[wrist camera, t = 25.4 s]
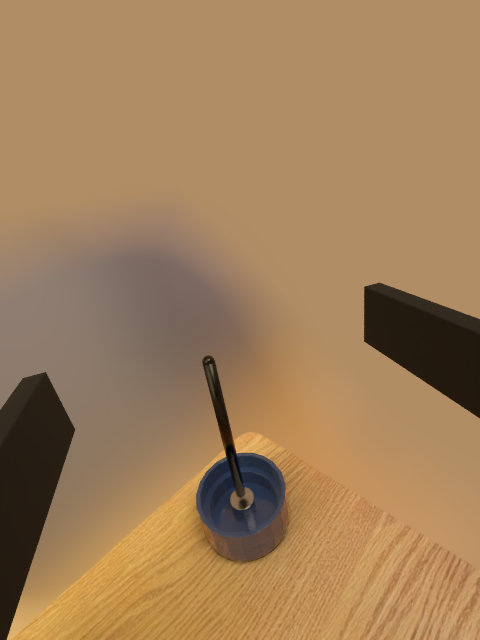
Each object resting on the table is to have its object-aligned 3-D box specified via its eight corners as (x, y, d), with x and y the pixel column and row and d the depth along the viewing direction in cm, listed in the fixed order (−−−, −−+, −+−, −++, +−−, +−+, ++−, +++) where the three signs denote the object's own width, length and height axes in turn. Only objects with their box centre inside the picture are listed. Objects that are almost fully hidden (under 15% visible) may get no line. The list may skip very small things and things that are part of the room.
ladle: (260, 505, 39) (228, 351, 29) (248, 527, 37) (209, 367, 27) (241, 495, 41) (205, 346, 31) (228, 515, 38) (185, 361, 29)
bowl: (306, 508, 38) (303, 481, 36) (249, 588, 32) (241, 561, 30) (245, 464, 46) (239, 440, 44) (188, 522, 39) (178, 496, 37)
